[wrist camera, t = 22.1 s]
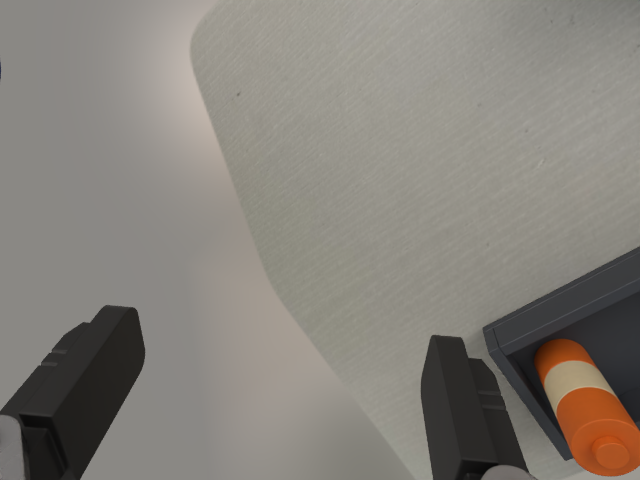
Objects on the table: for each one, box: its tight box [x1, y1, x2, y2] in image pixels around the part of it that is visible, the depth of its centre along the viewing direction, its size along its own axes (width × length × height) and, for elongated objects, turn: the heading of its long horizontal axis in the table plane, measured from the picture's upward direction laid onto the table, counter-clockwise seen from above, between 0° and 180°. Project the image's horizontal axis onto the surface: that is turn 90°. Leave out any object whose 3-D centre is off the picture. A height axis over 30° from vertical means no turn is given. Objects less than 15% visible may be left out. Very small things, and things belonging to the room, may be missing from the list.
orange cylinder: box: [534, 339, 640, 476], centre depth 28 cm, size 4×4×10 cm
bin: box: [483, 247, 640, 461], centre depth 30 cm, size 16×10×4 cm, turn 127°
